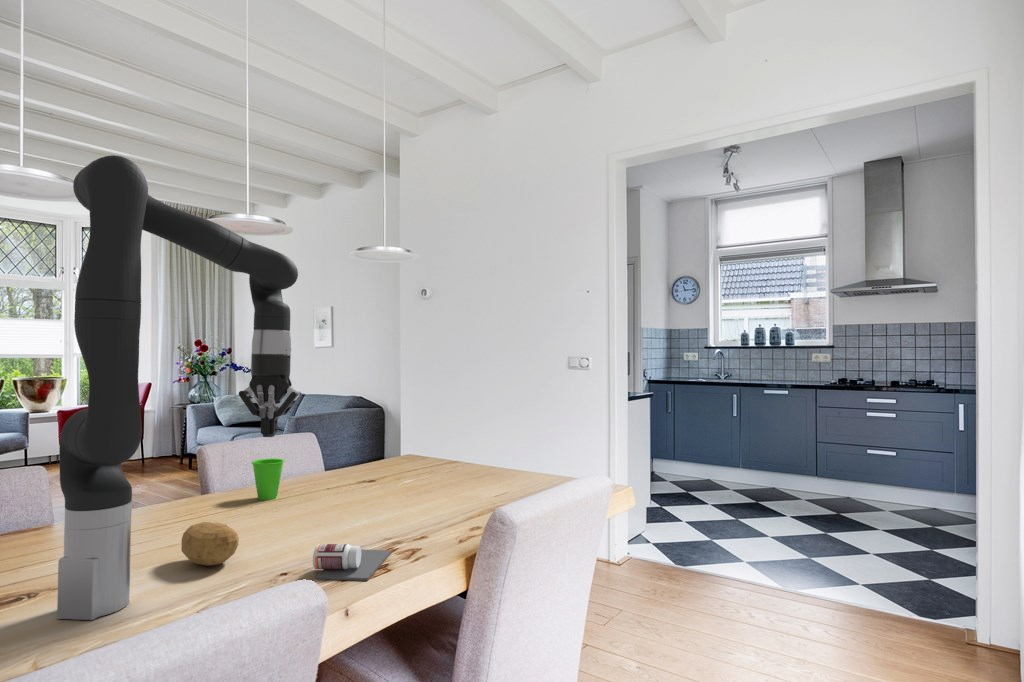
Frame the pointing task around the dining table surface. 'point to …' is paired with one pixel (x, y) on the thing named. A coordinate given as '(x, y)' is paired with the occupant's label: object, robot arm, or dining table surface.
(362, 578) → the mat
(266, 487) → the cup
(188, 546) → the potato
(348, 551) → the pill bottle
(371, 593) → the dining table surface
